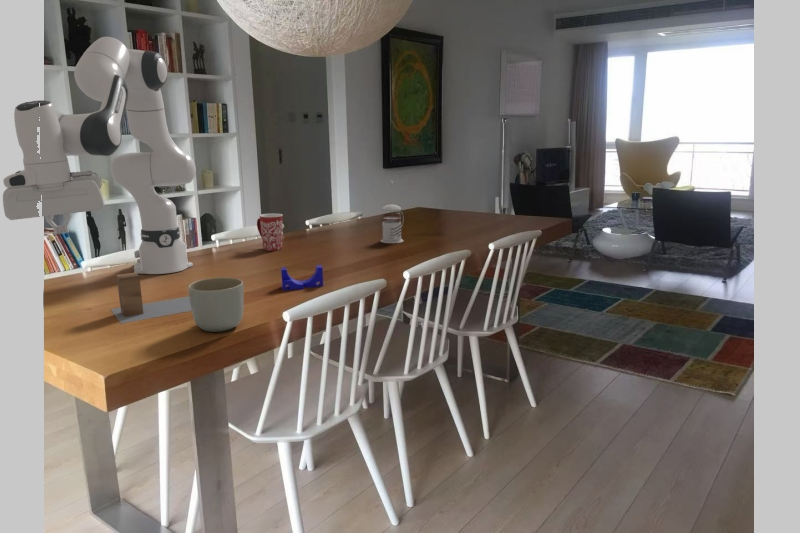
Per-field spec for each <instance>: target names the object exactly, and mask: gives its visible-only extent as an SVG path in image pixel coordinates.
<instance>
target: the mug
mask: <svg viewBox="0 0 800 533" xmlns="http://www.w3.org/2000/svg"><path fill="white" fill-rule="evenodd" d="M283 217H284V215H283V214H282V213H276V212H275V213H274V212H273V213H262V214H259V216H258V218H257V219H256V227H257V231H258V233H259V236H260V238H261V240H262V249H263V250H264V251H266V252H267V251H269V252H274V251H276V252H277V251H280V250H282V249H283Z"/></svg>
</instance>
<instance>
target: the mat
mask: <svg viewBox="0 0 800 533" xmlns="http://www.w3.org/2000/svg"><path fill="white" fill-rule="evenodd" d="M142 304H143V313H144V314H139V315H134V316H128V317H124V316H123V314H122V313H121V307H115V308H111V309H110V311H111V312H112V313H113V315H114V316H115V318H116V319H117V320H118V322H119V323H120V324H126V323H131V322H137V321H141V320H142V321H144V320H147V319H154V318H155V319H156V318H159V317H165V316H170V315H175V314H181V313H189V312H192V309H191V304H190V298H189V295H188V296H183V297H178V298H172V299H171V298H169V299H164V300H160V301H153V302H147V303H142Z"/></svg>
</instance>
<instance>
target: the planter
mask: <svg viewBox="0 0 800 533" xmlns="http://www.w3.org/2000/svg"><path fill="white" fill-rule="evenodd" d="M187 287H188V288H187V290H188V296H189V298H190V304H191V309H192V311H191V313H192V317H193V321H194V323H195V325H196V327H198V328H200V329H201V330H203V331H206V332H209V333H210V332H211V333H220V332H225V331H226V332H227V331H230V330H232V329H234V328H235V327H237V326H238V325H239V324H240V322H241V321H242V319H243V315H244V282H243V280H242V279H241V278H236V277H224V276H223V277H222V276H221V277H220V276H219V277H211V278H204V279H199V280H195V281H192V282H191V283H190V284H189V285H188V286H187Z"/></svg>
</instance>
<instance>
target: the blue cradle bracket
mask: <svg viewBox="0 0 800 533" xmlns="http://www.w3.org/2000/svg"><path fill="white" fill-rule="evenodd" d="M323 270H324V269H323V266H322V265H321V264H320V265H319V264H318V265H315V271H314V273H313V274H312V276H311V277H309V278H308V279H306V280H296V279H294V278H292V277H291V276H290V275H289V273H288V270H287V267H281V268H280V273H281V275H280V276H281V288H282V291H294V290H293V289H297V290H304V289H305V288H304V287H306V288H318V287H320V288H321V287H324V275H323ZM318 282H319V283H318Z"/></svg>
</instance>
